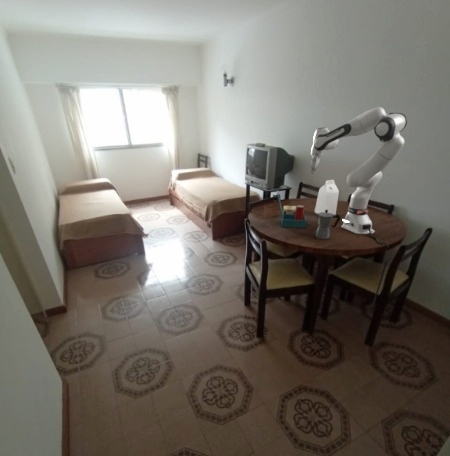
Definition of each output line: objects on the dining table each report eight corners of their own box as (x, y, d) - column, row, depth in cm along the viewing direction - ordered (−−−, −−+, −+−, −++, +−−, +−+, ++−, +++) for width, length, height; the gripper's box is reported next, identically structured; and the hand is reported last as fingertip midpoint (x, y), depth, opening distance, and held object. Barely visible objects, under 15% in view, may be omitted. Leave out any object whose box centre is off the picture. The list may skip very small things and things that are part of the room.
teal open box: (303, 222, 205) (304, 214, 202) (305, 228, 193) (306, 220, 191) (281, 221, 207) (282, 213, 204) (281, 227, 196) (282, 219, 193)
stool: (295, 215, 217) (296, 206, 214) (296, 220, 209) (297, 209, 205) (282, 215, 219) (283, 205, 215) (283, 219, 210) (284, 209, 206)
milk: (326, 210, 228) (332, 178, 216) (335, 214, 219) (342, 181, 206) (314, 212, 225) (319, 179, 213) (323, 216, 216) (328, 182, 203)
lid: (278, 190, 197) (271, 191, 198) (278, 194, 185) (271, 196, 187) (282, 213, 204) (276, 214, 205) (282, 218, 193) (276, 220, 194)
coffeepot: (311, 237, 179) (315, 211, 170) (312, 232, 186) (316, 206, 177) (336, 241, 173) (341, 213, 165) (336, 235, 181) (341, 209, 172)
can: (303, 224, 197) (305, 206, 191) (296, 225, 196) (298, 207, 190) (300, 222, 202) (302, 204, 196) (293, 223, 201) (295, 205, 195)
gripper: (319, 155, 188) (315, 175, 195) (323, 151, 204) (319, 170, 211) (310, 154, 190) (306, 174, 197) (314, 150, 206) (311, 169, 213)
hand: (313, 172), depth 204 cm, fingers open, 8 cm apart
